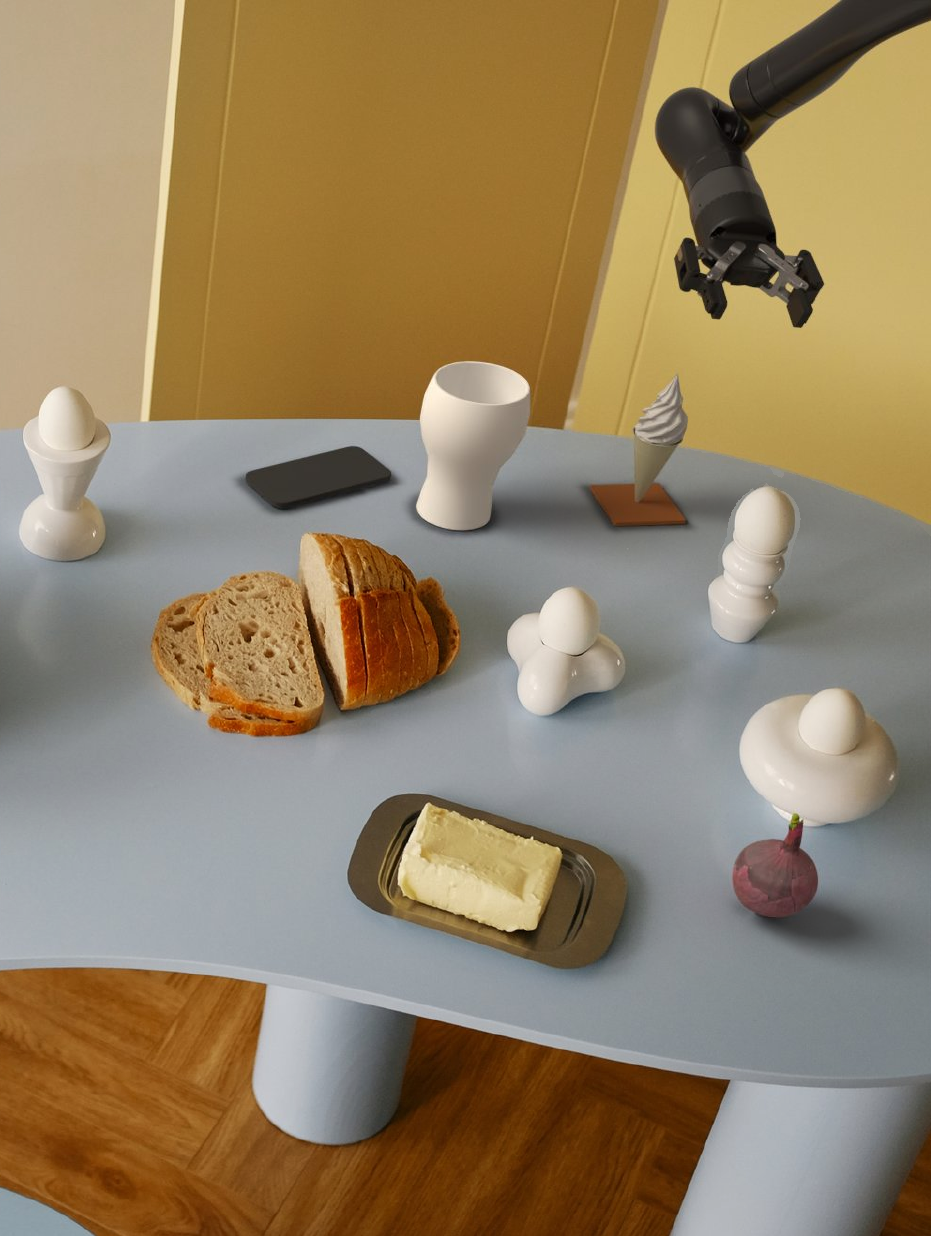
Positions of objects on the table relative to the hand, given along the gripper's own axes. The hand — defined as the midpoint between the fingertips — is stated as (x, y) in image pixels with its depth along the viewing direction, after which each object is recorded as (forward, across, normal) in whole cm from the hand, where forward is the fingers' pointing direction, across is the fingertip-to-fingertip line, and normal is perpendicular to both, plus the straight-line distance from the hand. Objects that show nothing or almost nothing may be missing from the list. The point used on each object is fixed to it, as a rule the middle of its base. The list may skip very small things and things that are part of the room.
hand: (761, 317), depth 169 cm
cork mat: (+12, -8, +17) cm, 22 cm away
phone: (+9, -42, +20) cm, 47 cm away
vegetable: (+71, -14, +2) cm, 72 cm away
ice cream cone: (+11, -8, +17) cm, 22 cm away
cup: (+14, -28, +18) cm, 36 cm away
